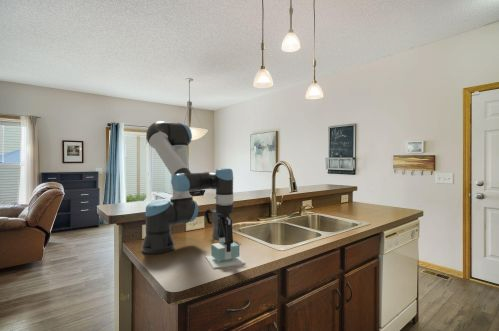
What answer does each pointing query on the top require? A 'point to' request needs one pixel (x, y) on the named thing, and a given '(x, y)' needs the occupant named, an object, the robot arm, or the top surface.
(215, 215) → the coffeepot
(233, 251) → the light blue block
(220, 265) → the mat
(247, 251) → the top surface
